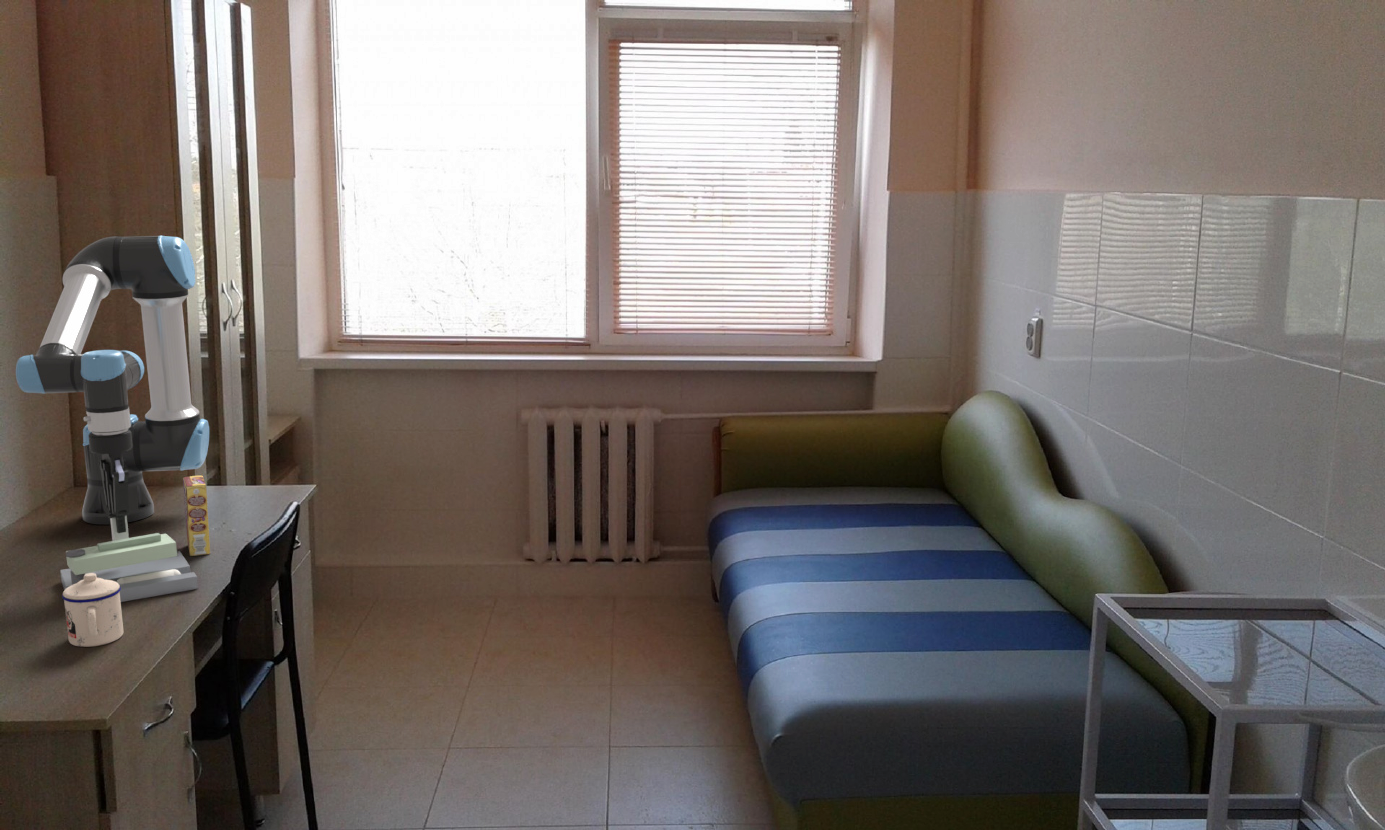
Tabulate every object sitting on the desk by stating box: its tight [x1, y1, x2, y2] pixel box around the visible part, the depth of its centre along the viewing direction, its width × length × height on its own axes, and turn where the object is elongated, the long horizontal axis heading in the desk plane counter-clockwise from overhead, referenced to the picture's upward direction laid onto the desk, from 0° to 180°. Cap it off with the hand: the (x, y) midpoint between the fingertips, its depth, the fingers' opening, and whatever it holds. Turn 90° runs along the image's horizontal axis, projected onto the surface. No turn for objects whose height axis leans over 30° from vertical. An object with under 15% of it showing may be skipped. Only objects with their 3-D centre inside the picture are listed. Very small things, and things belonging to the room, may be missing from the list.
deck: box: [59, 550, 199, 603], centre depth 234 cm, size 18×22×6 cm
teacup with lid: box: [61, 573, 124, 648], centre depth 207 cm, size 12×9×12 cm
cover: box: [65, 532, 178, 575], centre depth 230 cm, size 19×7×4 cm, turn 128°
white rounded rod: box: [116, 569, 181, 585], centre depth 233 cm, size 3×12×3 cm
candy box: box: [182, 475, 211, 557], centre depth 255 cm, size 9×4×15 cm, turn 26°
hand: (121, 546), depth 237 cm, fingers closed
